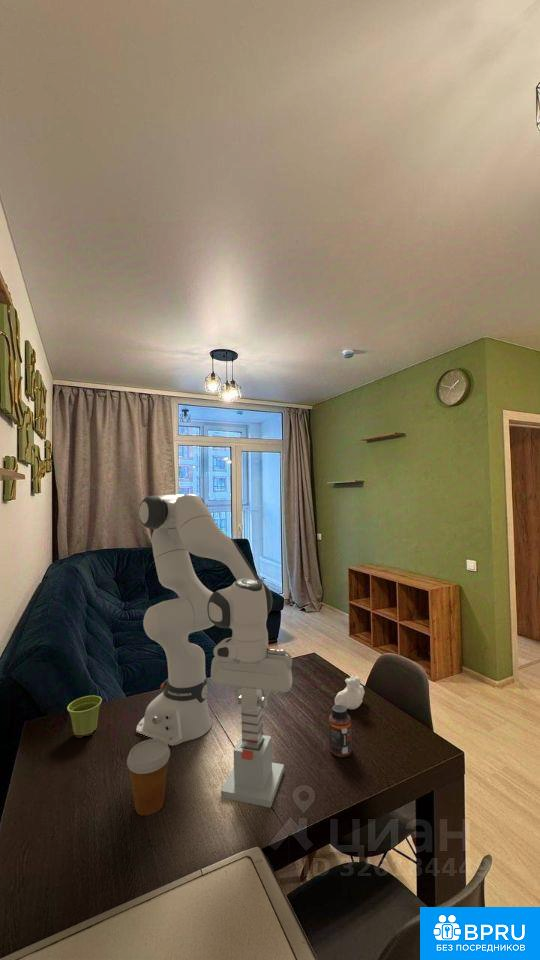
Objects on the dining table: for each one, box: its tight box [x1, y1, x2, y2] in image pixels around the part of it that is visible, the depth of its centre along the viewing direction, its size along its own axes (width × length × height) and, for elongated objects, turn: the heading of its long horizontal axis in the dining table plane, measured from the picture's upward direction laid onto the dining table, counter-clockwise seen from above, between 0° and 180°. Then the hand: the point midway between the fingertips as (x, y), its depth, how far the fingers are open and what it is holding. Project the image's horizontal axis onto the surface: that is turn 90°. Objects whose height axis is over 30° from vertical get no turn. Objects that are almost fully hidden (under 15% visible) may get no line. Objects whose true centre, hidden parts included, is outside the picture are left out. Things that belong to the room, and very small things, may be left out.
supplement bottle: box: [328, 704, 353, 758], centre depth 105 cm, size 6×6×11 cm
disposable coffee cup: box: [126, 738, 171, 816], centre depth 88 cm, size 10×10×12 cm
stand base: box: [220, 734, 285, 808], centre depth 94 cm, size 12×12×10 cm
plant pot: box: [66, 695, 103, 735], centre depth 116 cm, size 9×9×9 cm
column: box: [240, 687, 264, 751], centre depth 94 cm, size 4×4×16 cm
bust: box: [334, 674, 365, 710], centre depth 126 cm, size 12×8×11 cm
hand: (251, 704), depth 95 cm, fingers open, 5 cm apart
